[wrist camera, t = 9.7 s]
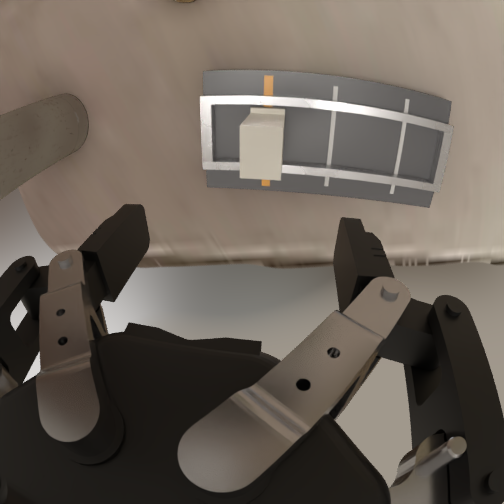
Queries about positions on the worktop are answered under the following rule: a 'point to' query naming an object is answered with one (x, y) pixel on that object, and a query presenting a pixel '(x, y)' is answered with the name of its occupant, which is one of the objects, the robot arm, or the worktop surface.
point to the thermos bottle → (39, 138)
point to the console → (330, 135)
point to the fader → (262, 143)
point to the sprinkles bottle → (184, 0)
